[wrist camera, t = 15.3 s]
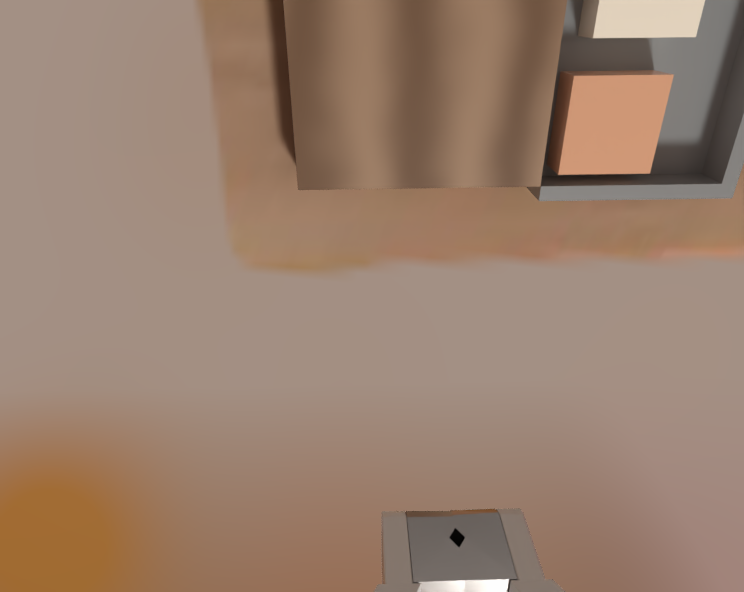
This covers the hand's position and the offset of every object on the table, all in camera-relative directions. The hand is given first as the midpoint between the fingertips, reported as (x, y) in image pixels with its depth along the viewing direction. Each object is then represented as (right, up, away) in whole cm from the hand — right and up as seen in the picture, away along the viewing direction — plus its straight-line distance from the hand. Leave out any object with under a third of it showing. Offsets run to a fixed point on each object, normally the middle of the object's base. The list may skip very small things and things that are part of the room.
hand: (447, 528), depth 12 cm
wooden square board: (+1, +21, +22) cm, 30 cm away
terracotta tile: (+13, +17, +24) cm, 32 cm away
